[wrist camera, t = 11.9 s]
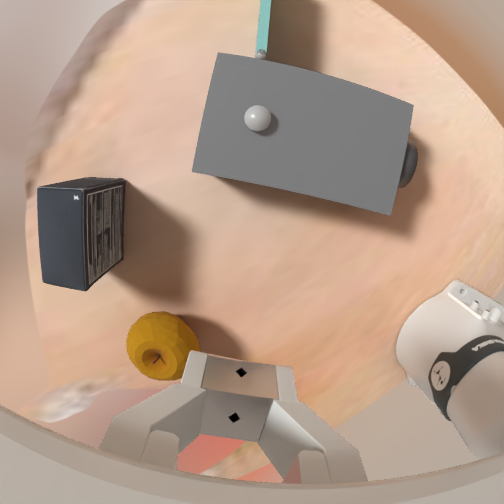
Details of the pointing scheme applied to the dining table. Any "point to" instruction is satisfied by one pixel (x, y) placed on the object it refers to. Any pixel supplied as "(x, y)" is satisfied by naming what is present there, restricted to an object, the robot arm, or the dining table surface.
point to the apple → (161, 345)
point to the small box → (80, 230)
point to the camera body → (305, 133)
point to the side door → (263, 29)
